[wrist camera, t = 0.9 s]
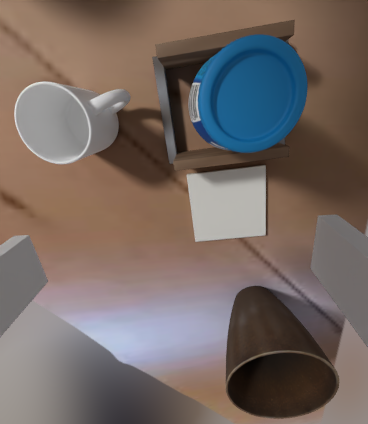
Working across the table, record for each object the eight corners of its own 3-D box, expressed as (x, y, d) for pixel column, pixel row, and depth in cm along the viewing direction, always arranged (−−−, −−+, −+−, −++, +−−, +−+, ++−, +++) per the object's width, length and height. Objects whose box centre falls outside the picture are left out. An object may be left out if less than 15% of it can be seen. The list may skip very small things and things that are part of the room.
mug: (123, 65, 31) (92, 45, 22) (152, 125, 34) (135, 130, 24) (53, 107, 34) (-3, 105, 24) (85, 159, 36) (46, 176, 27)
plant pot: (309, 290, 44) (365, 378, 30) (262, 337, 50) (290, 430, 35) (244, 257, 42) (270, 335, 27) (202, 309, 48) (205, 397, 33)
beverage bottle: (219, 55, 30) (255, -32, 12) (264, 101, 32) (356, 88, 14) (178, 110, 33) (156, 108, 15) (222, 149, 35) (250, 191, 16)
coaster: (186, 174, 36) (186, 175, 36) (264, 164, 35) (265, 165, 35) (195, 240, 41) (195, 241, 41) (264, 233, 40) (265, 235, 39)
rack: (154, 60, 31) (144, 46, 24) (282, 38, 29) (307, 17, 23) (170, 161, 36) (165, 172, 29) (279, 147, 34) (299, 155, 28)
